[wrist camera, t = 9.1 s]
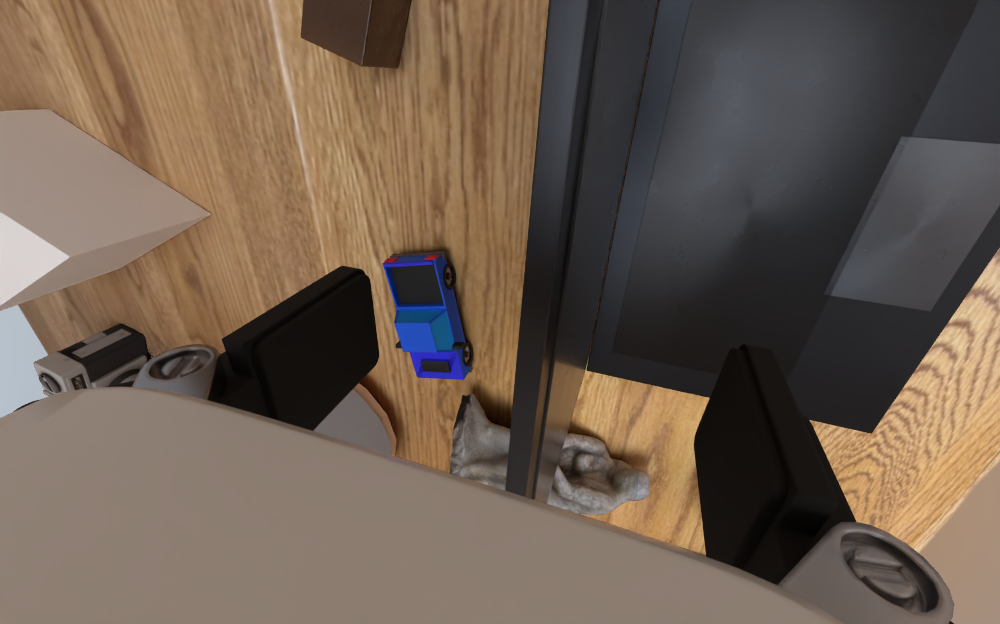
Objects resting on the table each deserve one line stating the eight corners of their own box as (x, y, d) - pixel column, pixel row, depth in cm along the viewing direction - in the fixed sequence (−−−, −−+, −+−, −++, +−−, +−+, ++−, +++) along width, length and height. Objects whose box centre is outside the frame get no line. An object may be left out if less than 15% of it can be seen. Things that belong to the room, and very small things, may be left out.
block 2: (353, -33, 28) (306, -52, 24) (412, -6, 28) (375, -20, 24) (343, 43, 31) (299, 37, 27) (398, 68, 30) (362, 66, 26)
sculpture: (642, 393, 43) (631, 499, 45) (471, 379, 45) (467, 480, 47) (674, 439, 32) (658, 577, 34) (446, 418, 34) (442, 549, 36)
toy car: (423, 361, 43) (399, 391, 39) (391, 251, 38) (359, 271, 34) (483, 363, 41) (464, 395, 37) (457, 246, 36) (432, 267, 31)
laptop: (1210, -117, 17) (1267, -137, 16) (861, 417, 32) (872, 434, 31) (678, -98, 22) (681, -113, 20) (588, 359, 37) (586, 371, 35)
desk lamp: (444, 443, 48) (87, 1083, 17) (361, 491, 58) (39, 952, 27) (304, 307, 44) (-460, 807, 14) (240, 382, 54) (-286, 771, 24)
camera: (179, 415, 63) (108, 465, 55) (135, 391, 64) (57, 438, 55) (168, 346, 55) (83, 393, 47) (117, 321, 56) (24, 363, 48)
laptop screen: (754, -1169, 3) (646, -1100, 3) (508, 645, 18) (491, 637, 18) (681, -112, 21) (664, -111, 21) (586, 370, 35) (577, 368, 36)
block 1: (-61, 100, 46) (-265, 105, 36) (182, 119, 38) (7, 133, 27) (23, 248, 55) (-122, 287, 44) (235, 291, 46) (118, 351, 36)
